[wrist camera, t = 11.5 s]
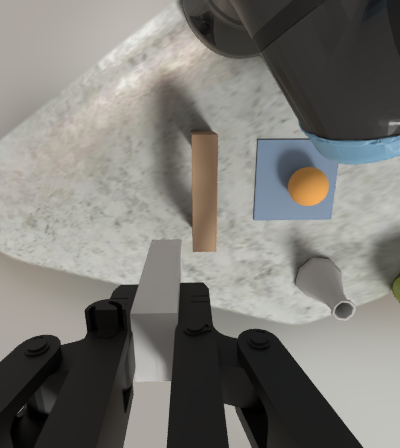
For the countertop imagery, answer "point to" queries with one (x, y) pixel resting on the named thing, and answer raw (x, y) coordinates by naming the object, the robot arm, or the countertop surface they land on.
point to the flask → (325, 286)
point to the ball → (308, 186)
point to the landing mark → (279, 178)
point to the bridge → (204, 190)
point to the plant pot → (396, 289)
